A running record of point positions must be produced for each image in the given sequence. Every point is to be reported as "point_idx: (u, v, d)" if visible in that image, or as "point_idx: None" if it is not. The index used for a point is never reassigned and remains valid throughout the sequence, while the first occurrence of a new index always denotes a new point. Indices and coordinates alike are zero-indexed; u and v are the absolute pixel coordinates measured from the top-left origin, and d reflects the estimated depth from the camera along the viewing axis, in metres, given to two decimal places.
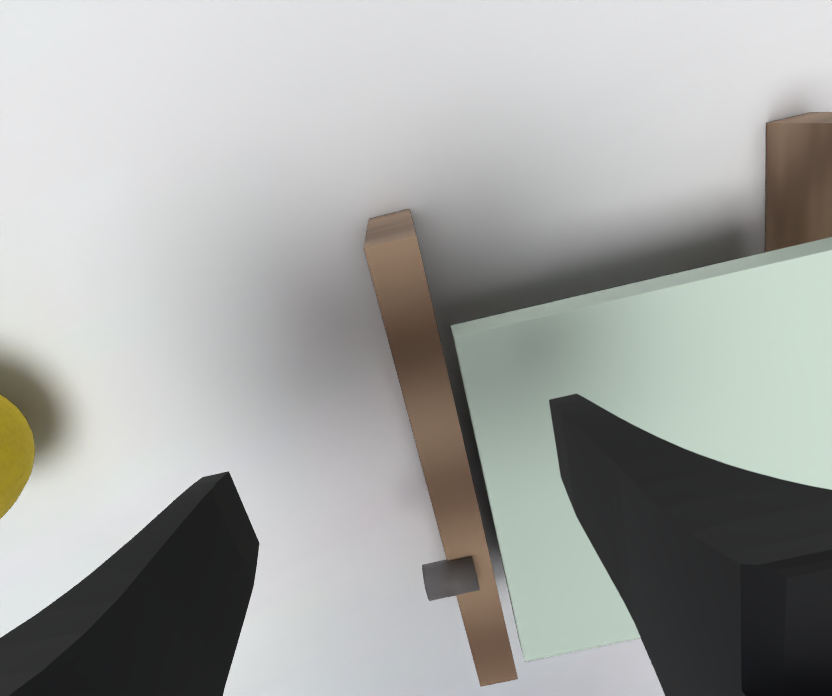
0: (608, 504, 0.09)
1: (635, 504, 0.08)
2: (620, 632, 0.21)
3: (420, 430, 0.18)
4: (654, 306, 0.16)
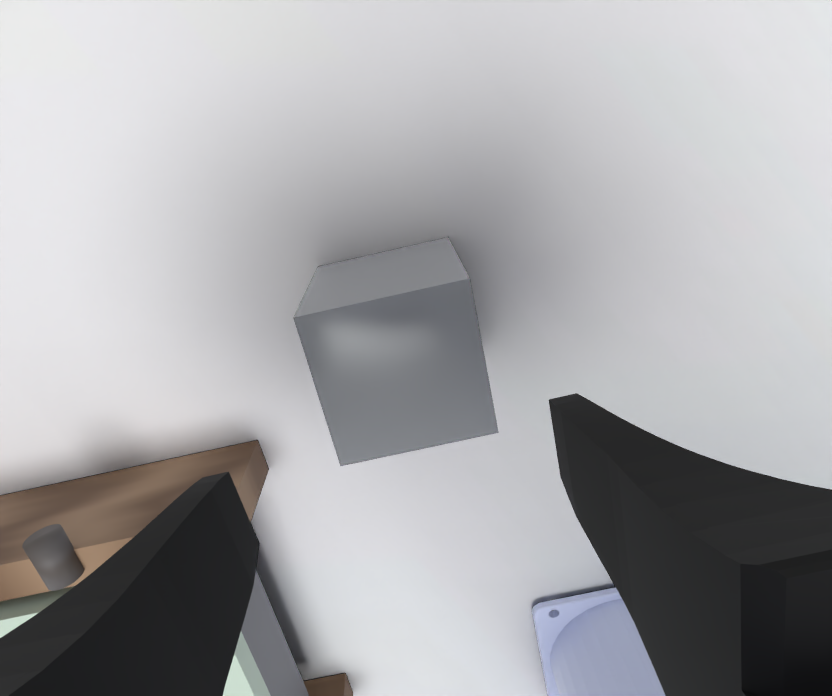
0: (608, 503, 0.09)
1: (635, 504, 0.08)
2: None
3: None
4: None
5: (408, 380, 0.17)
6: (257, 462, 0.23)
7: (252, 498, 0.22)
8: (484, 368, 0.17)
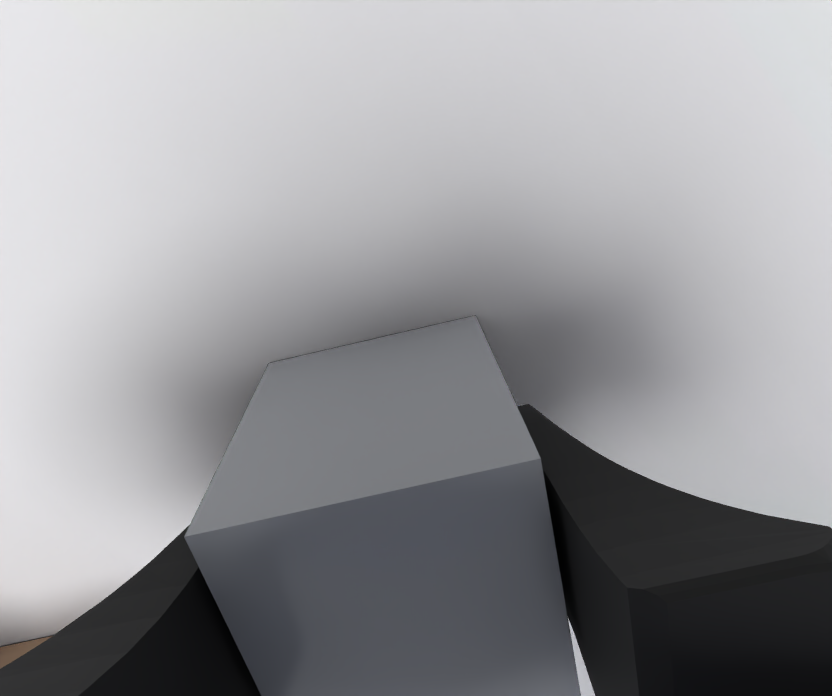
0: None
1: (563, 519, 0.08)
2: None
3: None
4: None
5: (416, 632, 0.09)
6: None
7: None
8: (562, 608, 0.09)
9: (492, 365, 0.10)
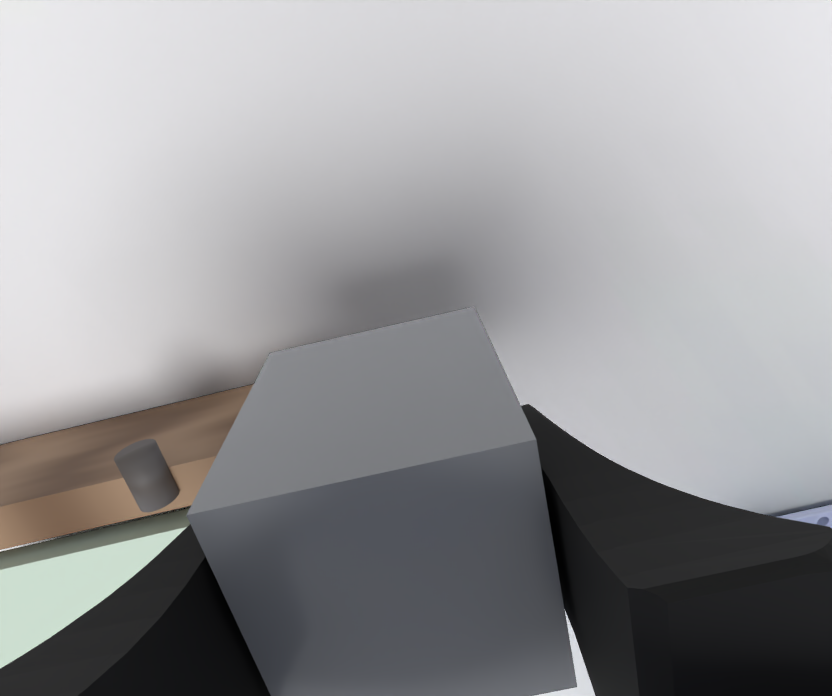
0: None
1: (563, 520, 0.08)
2: None
3: None
4: None
5: (413, 612, 0.09)
6: None
7: None
8: (557, 590, 0.09)
9: (490, 353, 0.11)
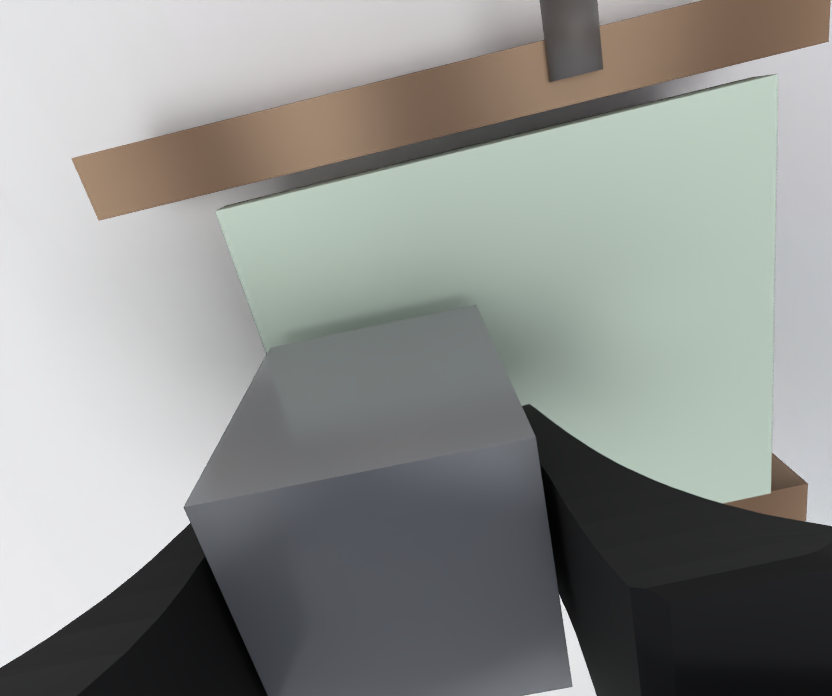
0: (548, 516, 0.09)
1: (564, 519, 0.08)
2: (755, 392, 0.16)
3: None
4: None
5: (409, 609, 0.09)
6: None
7: None
8: (554, 589, 0.09)
9: (491, 351, 0.11)
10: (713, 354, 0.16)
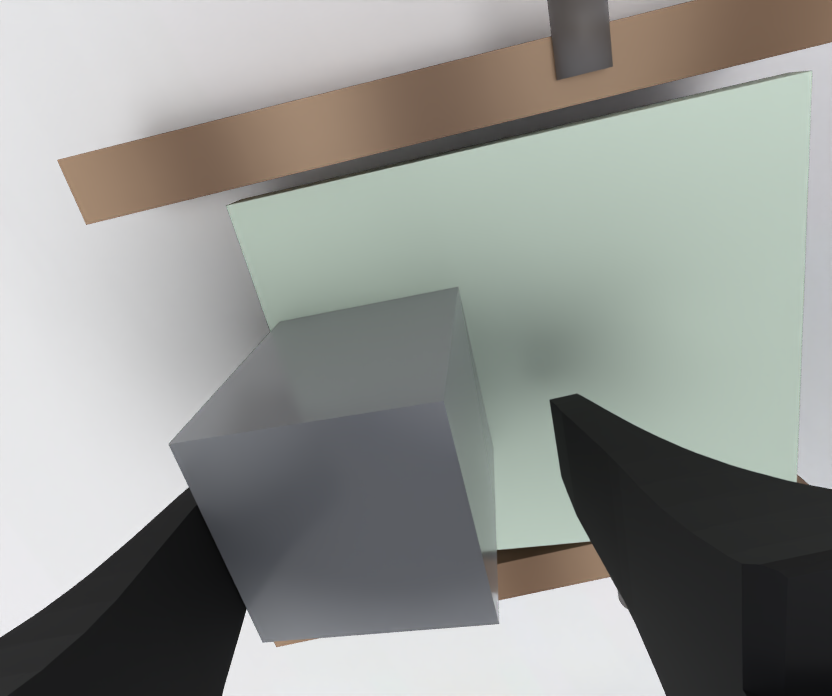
0: (608, 503, 0.09)
1: (636, 504, 0.08)
2: (778, 414, 0.15)
3: None
4: None
5: (351, 541, 0.10)
6: None
7: None
8: (473, 534, 0.10)
9: (448, 328, 0.12)
10: (730, 371, 0.15)
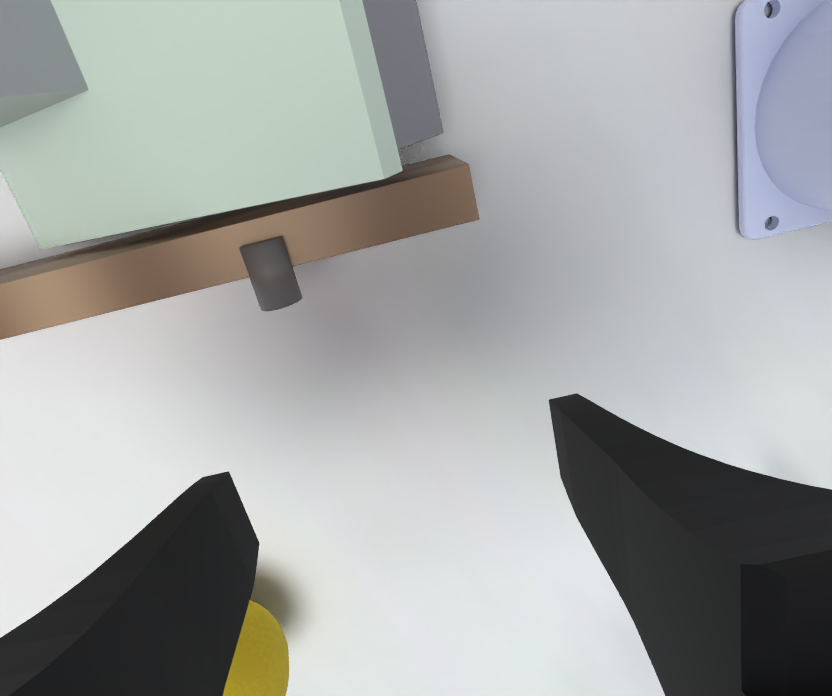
0: (607, 503, 0.09)
1: (635, 504, 0.08)
2: (318, 2, 0.12)
3: (70, 313, 0.16)
4: None
5: None
6: None
7: None
8: None
9: None
10: None
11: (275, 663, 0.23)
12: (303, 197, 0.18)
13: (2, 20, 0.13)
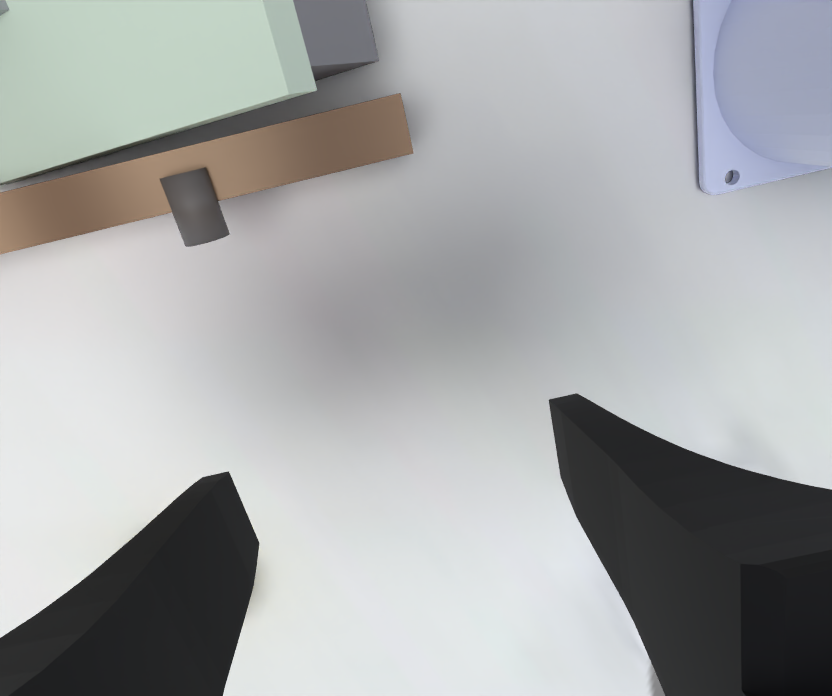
0: (607, 504, 0.09)
1: (635, 504, 0.08)
2: None
3: None
4: None
5: None
6: None
7: None
8: None
9: None
10: None
11: None
12: None
13: None
